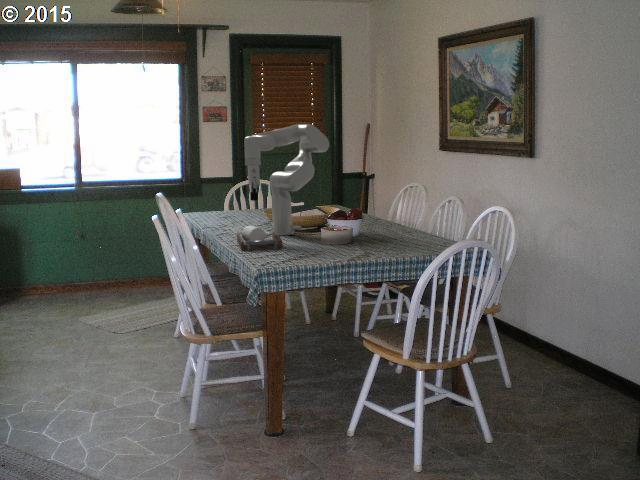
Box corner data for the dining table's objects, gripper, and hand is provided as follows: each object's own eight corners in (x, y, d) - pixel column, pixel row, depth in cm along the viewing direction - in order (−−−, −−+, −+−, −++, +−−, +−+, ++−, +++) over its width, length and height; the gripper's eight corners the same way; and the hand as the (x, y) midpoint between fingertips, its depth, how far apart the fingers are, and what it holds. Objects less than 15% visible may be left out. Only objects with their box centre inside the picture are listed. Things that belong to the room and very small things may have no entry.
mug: (249, 245, 359) (249, 228, 357) (241, 242, 367) (241, 226, 366) (273, 243, 364) (273, 226, 363) (265, 240, 373) (264, 224, 372)
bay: (275, 239, 375) (274, 230, 374) (283, 249, 345) (282, 240, 345) (237, 241, 371) (236, 232, 371) (241, 251, 342) (241, 241, 341)
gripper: (262, 162, 364) (263, 201, 367) (259, 161, 379) (260, 198, 382) (246, 163, 363) (247, 202, 366) (243, 161, 378) (245, 198, 381)
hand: (254, 200), depth 374 cm, fingers closed
